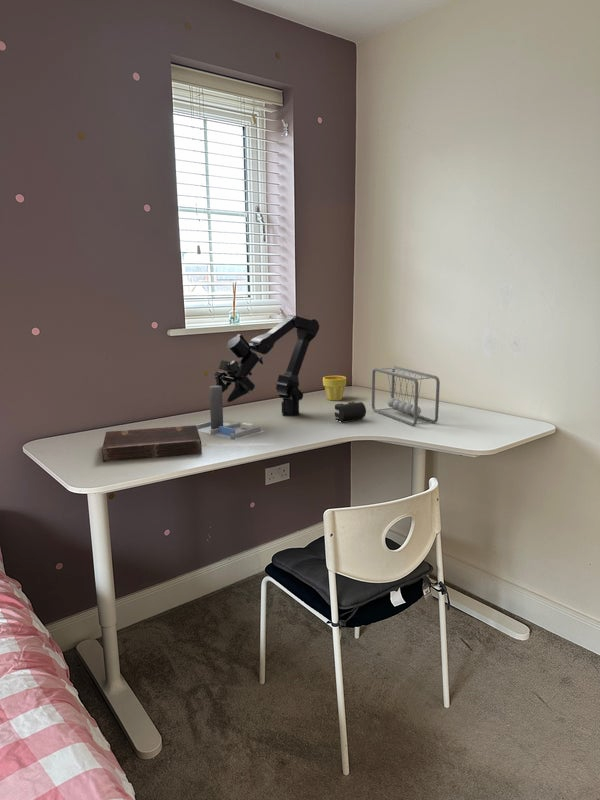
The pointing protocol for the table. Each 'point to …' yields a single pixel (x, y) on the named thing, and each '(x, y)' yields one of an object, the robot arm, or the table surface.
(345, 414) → the black cylinder
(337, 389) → the plant pot
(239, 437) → the board
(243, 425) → the ear clip
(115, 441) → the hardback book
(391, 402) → the newton's cradle
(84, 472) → the table surface
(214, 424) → the grey square pillar
